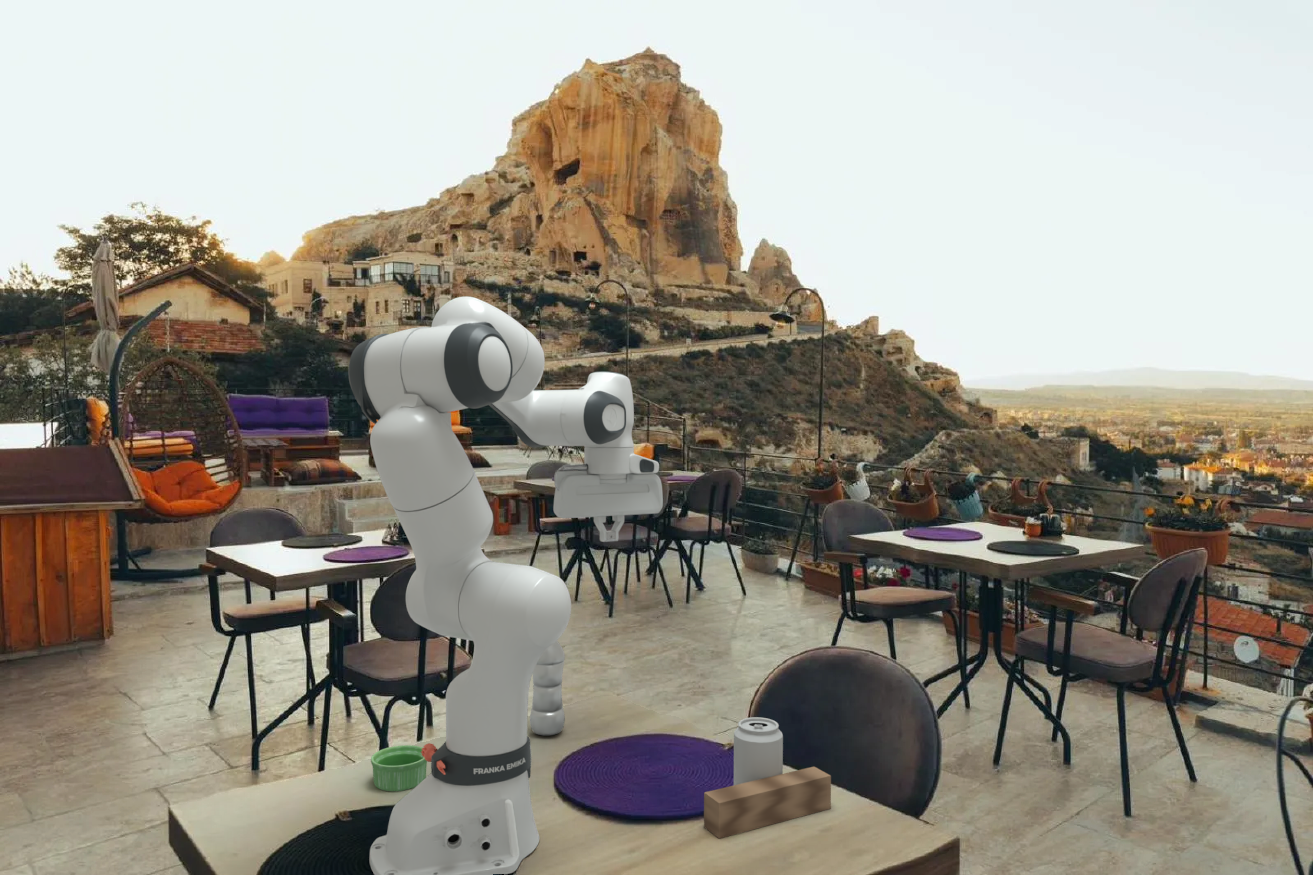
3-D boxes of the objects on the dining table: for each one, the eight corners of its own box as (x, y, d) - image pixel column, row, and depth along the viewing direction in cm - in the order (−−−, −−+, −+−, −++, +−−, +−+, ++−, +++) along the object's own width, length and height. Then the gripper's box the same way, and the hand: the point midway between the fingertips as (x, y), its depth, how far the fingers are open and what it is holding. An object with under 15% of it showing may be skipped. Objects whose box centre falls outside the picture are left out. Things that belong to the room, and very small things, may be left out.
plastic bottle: (552, 724, 167) (552, 621, 167) (571, 734, 162) (571, 627, 162) (523, 732, 163) (523, 626, 163) (542, 742, 158) (542, 633, 157)
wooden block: (719, 838, 121) (719, 803, 121) (703, 827, 125) (704, 792, 125) (830, 808, 131) (830, 775, 131) (813, 798, 134) (814, 766, 134)
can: (781, 791, 137) (782, 715, 137) (783, 812, 130) (783, 732, 130) (734, 788, 138) (734, 713, 138) (733, 809, 131) (733, 730, 130)
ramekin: (358, 789, 138) (358, 761, 138) (393, 768, 146) (393, 742, 146) (406, 797, 135) (406, 769, 135) (439, 775, 143) (439, 748, 143)
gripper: (561, 465, 147) (561, 547, 147) (667, 463, 156) (666, 539, 157) (547, 464, 152) (547, 542, 152) (650, 461, 162) (650, 535, 162)
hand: (609, 541), depth 155 cm, fingers closed
